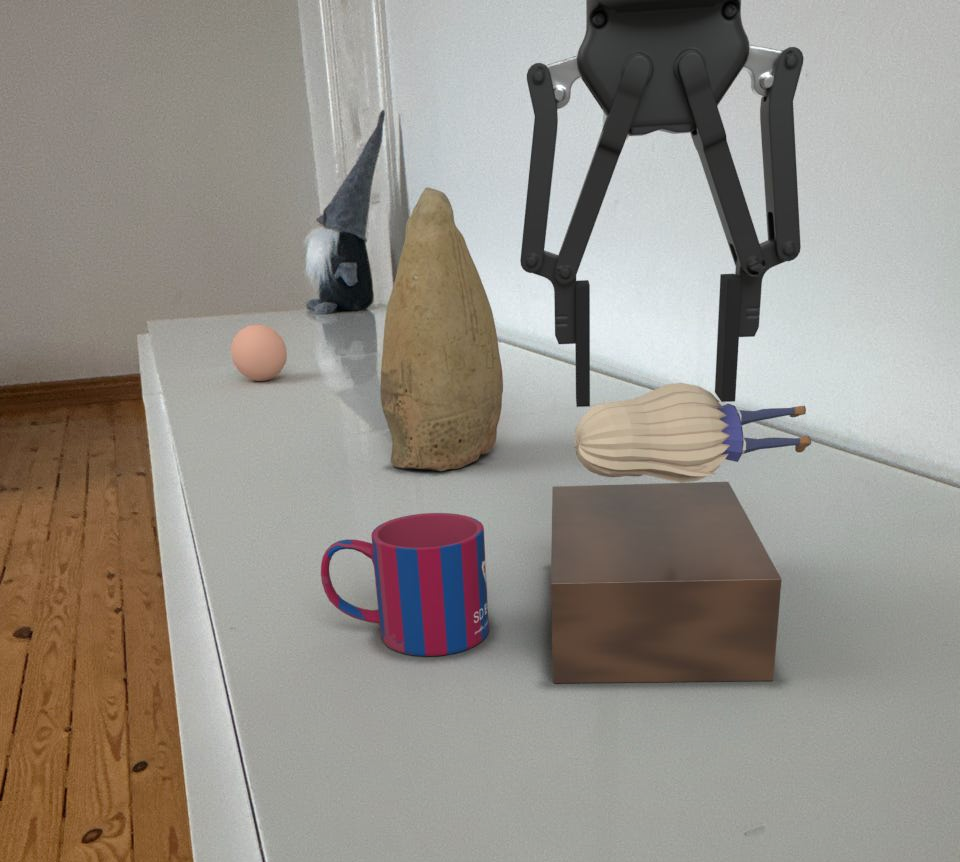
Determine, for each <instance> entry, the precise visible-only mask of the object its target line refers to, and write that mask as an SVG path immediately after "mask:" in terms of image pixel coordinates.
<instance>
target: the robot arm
mask: <svg viewBox="0 0 960 862" xmlns="http://www.w3.org/2000/svg"><path fill="white" fill-rule="evenodd" d="M585 2H586V3H585V4H586V7H585V8H586V9H585V10H586V11H585V12H586V13H585V14H586V15H585V16H586V17H585V18H586V23H585V34H584V37H583V40H582V41H581V44H580V46H579V47H578V50H577V54H576V55H573V56H571V57H567V58H564V59H561V60H558V61H555V62H551V63H549V64H545V63H542V62H535V63H534V64H531V65H530V67H529V68H528V70H527V73H526V82H527V86H528V91H529V97H530V101H531V106H532V110H533V115H534V119H533V128H532V129H533V131H532V140H531V149H530V150H531V151H530V158H529V159H530V160H529V169H528V170H529V171H528V180H527V190H526V198H525V199H526V200H525V208H524V209H525V211H524V220H523V229H522V230H523V231H522V240H521V251H520V260H519V261H520V266H521V268H522V270H523V271H525V272H526V273H529V274H533V275H537V276H539V277H542V278H545V279H547V280H548V281H549V282H550V283H551V284H552V287H553V292H554V293H553V295H554V297H553V298H554V303H553V304H554V336H555V339H556V341H557V344H558V345H575V348H574V349H575V404H576V408H583V407H587V408H589V407H591V296H590V295H591V291H590V290H591V285H590V280H589V279H584V280H583V279H582V280H577V274H578V271H579V270H580V266H581V264H582V263H581V262H582V260H583V258H584V254H585V252H586V250H587V247H588V244H589V241H590V238H591V235H592V234H593V233H592V232H593V230H594V227H595V225H596V222H597V219H598V216H599V214H600V211H601V208H602V205H603V202H604V201H605V197H606V195H607V191H608V189H609V186H610V183H611V180H612V179H613V175H614V172H615V170H616V167H617V164H618V161H619V158H620V156H621V153H622V151H623V149H624V146H625V143H626V141H627V137H641V136H642V137H643V136H647V135H648V134H651V133H654V132H658V131H660V132H664V133H669V134H672V135H677V134H689V133H690V137H691V139H692V143H693V145H694V147H695V150H696V152H697V155H698V157H699V161H700V163H701V166H702V169H703V173H704V175H705V178H706V181H707V184H708V187H709V191H710V194H711V196H712V199H713V203H714V205H715V208H716V212H717V215H718V218H719V221H720V224H721V227H722V230H723V233H724V236H725V239H726V241H727V245H728V248H729V251H730V254H731V257H732V261H733V263H734V266H735V272H734V273H720V274H719V275H720V277H719V296H718V297H719V298H718V316H717V317H718V318H717V320H718V321H717V335H716V337H717V338H716V356H715V358H716V359H715V376H714V377H715V378H714V393H715V395H716V396H717V398H718V400H719V401H720V403H732V402H736V394H737V379H738V378H737V377H738V361H739V360H738V359H739V343H740V342H739V341H740V338H751V337H756V335H757V332H758V330H759V328H760V318H761V317H760V315H761V303H762V302H761V301H762V286H763V279H764V276H765V274H766V273H767V272H768V271H769V270H770V269H771V268H773V267H776V266H779V265H781V264H784V263H786V262H791V261H794V260H795V259H797V258H798V257H799V254H800V252H801V229H800V211H799V210H800V209H799V190H798V173H797V172H798V170H797V152H796V151H797V150H796V133H795V113H794V112H795V111H794V100H795V95H796V92H797V88H798V85H799V81H800V77H801V74H802V69H803V65H804V59H805V58H804V53H803V52H802V50H801V49H800V48H799V47H797V46H789V47H787V48H785V49H777V48H770V47H766V46H759V45H754V44H750V40H749V36H748V35H747V33H746V30H745V28H744V25H743V20H742V0H586V1H585ZM742 70H744V71H746V72H747V73H748V75H749V77H750V88H751V92H752V94H754V95H755V96H756V97H759V98H760V106H759V107H760V108H759V123H760V137H761V152H762V153H761V155H762V169H763V183H764V185H763V187H764V198H765V214H766V231H767V240H764V241H762V242H760V241H759V237H758V235H757V231H756V228H755V225H754V222H753V218H752V216H751V213H750V209H749V206H748V203H747V201H746V197H745V194H744V191H743V187H742V184H741V180H740V178H739V174H738V172H737V169H736V166H735V162H734V159H733V156H732V153H731V149H730V146H729V143H728V140H727V133H726V129H725V126H724V123H723V120H722V117H721V114H720V111H719V107H718V106H719V104H720V103H721V101H722V100H723V98H724V97H725V96H726V94H727V92H728V91H729V89H730V88H731V86H732V85H733V83H734V82H735V80H736V79H737V77H739V74H740V73H741V72H742ZM579 80H582V82H583V84H584V85H585V86H586V88H587V89H588V91H589V93H590V94H591V95H592V98H594V99H595V101H596V103H597V104H598V106H599V107H600V108H601V110H602V111H603V113H604V115H605V117H606V118H605V120H604V124H603V127H602V129H601V132H600V135H599V137H598V141H597V144H596V147H595V150H594V152H593V155H592V159H591V161H590V164H589V166H588V170H587V172H586V176H585V178H584V181H583V184H582V187H581V189H580V192H579V195H578V198H577V201H576V204H575V205H574V206H575V207H574V210H573V212H572V214H571V215H572V216H571V218H570V221H569V223H568V226H567V229H566V232H565V235H564V238H563V240H562V244H561V247H560V249H559V252H558V254H557V253H555V252H551V251H547V250H545V247H546V237H547V228H548V219H549V211H550V210H549V209H550V202H551V191H552V183H553V175H554V174H553V173H554V165H555V154H556V147H557V146H556V145H557V138H558V137H557V136H558V124H559V117H558V116H559V114H558V111H559V110H562V109H564V108H565V107H566V106H568V104H569V103H570V100H571V93H572V92H571V91H572V87H573V86H574V84H575V83H576V82H577V81H579Z"/></svg>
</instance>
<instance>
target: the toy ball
mask: <svg viewBox="0 0 960 862" xmlns="http://www.w3.org/2000/svg"><path fill="white" fill-rule="evenodd" d="M231 342H232V343H231V345H230V354H231V359H232V362H233V365H234V366H235V368H236V370H237V371H238V372H239V373H240V374H241V375H242V376H243V377H245V378H247V379H249V380H252V381H255V382H265V381H270V380H272V379H274V378H276V377H277V376H278V375H279V374H280V373H281V372H282V370H283V369H284V367H285V365H286V364H287V358H288V352H287V346H286V343H285V341H284V339H283V337H282V336H281V335H280V334H279V333H278V331H276V330H275V329H273V328H272V327H270V326H267V325H264V324H259V323H258V324H250V325H247V326H245V327H243V328H242V329H240V330H239V331H238V332H237V333H236V334H235V336H234V338H233V339H232V341H231Z"/></svg>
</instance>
